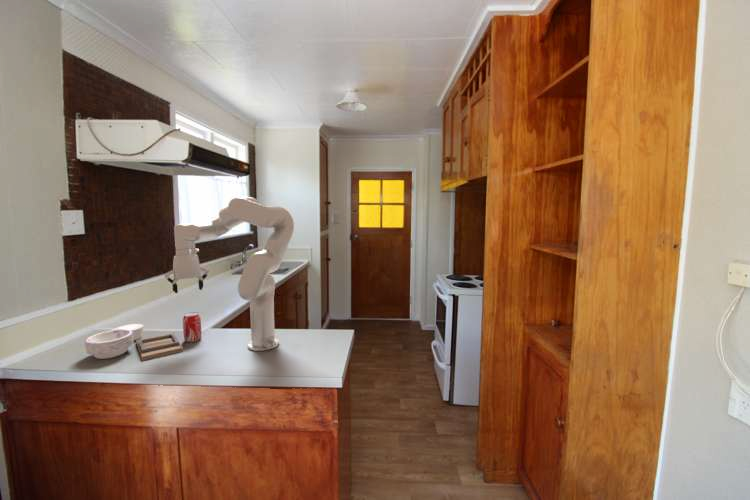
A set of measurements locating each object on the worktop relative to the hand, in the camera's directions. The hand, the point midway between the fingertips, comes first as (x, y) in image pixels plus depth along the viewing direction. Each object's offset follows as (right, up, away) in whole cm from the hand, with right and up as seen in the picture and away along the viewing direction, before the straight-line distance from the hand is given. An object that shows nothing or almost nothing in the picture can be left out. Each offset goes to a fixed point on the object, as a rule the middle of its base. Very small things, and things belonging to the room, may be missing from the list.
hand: (188, 291), depth 152 cm
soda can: (+1, -22, +3) cm, 23 cm away
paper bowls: (-24, -24, -13) cm, 37 cm away
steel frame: (-9, -22, -6) cm, 24 cm away
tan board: (-9, -23, -6) cm, 26 cm away
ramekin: (-29, -22, +4) cm, 37 cm away
